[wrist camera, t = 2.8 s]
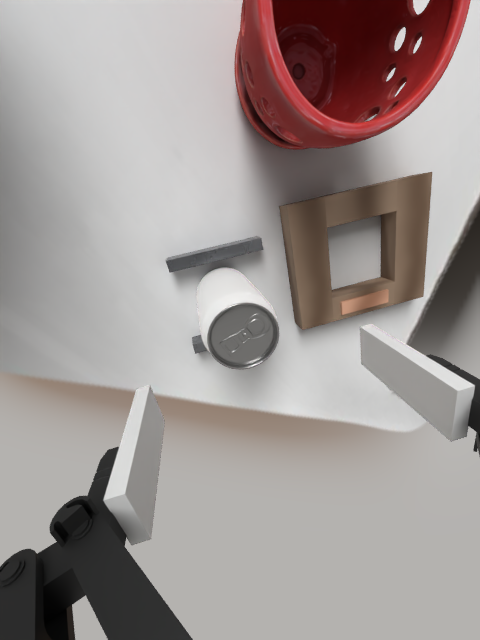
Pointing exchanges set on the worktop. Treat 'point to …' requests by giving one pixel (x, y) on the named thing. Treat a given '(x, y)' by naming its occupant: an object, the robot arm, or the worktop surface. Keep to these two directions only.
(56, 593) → the robot arm
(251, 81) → the plant pot
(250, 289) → the can
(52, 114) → the worktop surface
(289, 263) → the plate
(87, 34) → the worktop surface
